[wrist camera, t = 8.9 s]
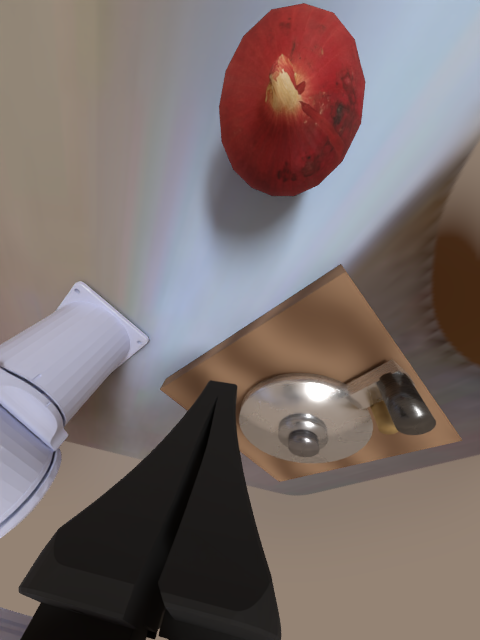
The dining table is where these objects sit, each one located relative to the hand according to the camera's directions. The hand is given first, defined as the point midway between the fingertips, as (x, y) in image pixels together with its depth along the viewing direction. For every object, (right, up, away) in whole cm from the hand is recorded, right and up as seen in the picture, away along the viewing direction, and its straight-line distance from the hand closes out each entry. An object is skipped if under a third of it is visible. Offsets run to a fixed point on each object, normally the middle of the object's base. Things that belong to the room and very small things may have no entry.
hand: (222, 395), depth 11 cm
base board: (+7, -5, +13) cm, 16 cm away
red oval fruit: (+4, +14, +2) cm, 15 cm away
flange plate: (+8, -5, +10) cm, 14 cm away
